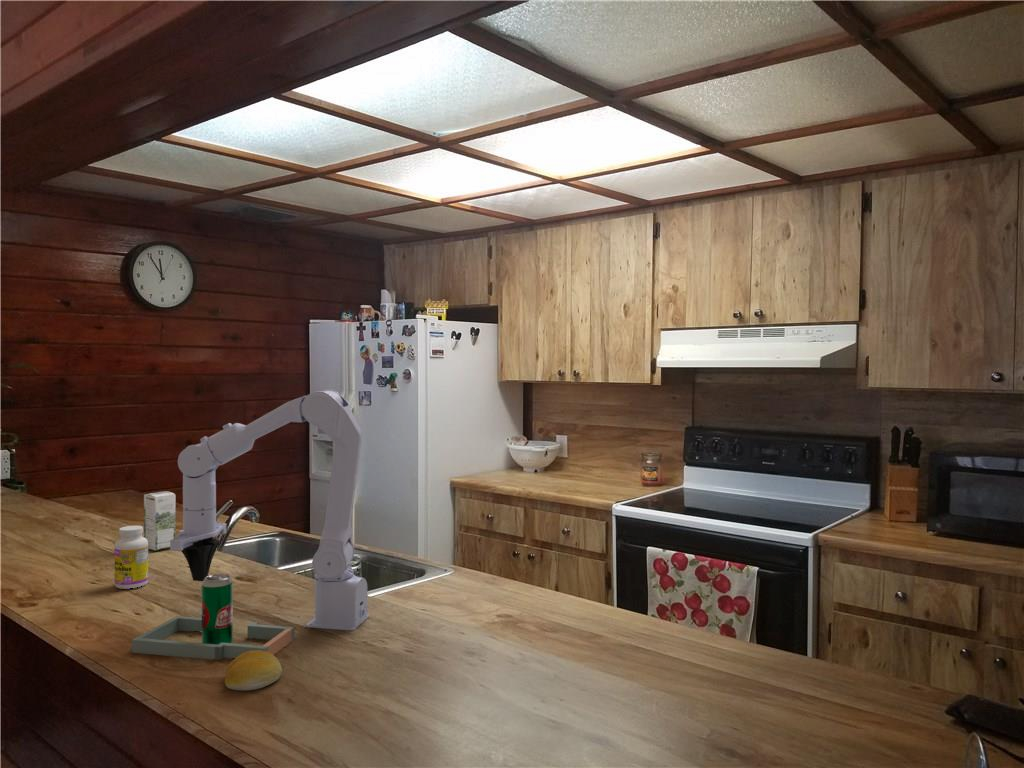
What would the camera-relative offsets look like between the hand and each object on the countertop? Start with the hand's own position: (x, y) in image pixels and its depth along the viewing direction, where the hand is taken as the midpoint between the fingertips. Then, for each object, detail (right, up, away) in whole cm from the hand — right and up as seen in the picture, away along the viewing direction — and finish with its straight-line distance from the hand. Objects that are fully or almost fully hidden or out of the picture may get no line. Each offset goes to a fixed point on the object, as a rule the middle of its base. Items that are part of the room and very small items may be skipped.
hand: (200, 579), depth 139 cm
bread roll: (+22, -10, -27) cm, 36 cm away
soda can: (+7, -9, -10) cm, 15 cm away
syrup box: (-35, -7, +58) cm, 68 cm away
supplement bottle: (-25, -8, +25) cm, 36 cm away
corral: (+7, -9, -10) cm, 15 cm away
